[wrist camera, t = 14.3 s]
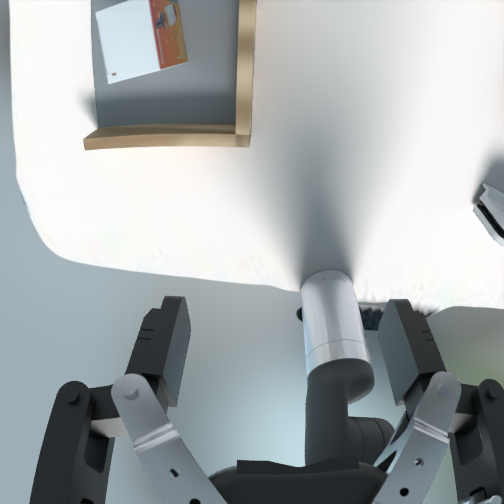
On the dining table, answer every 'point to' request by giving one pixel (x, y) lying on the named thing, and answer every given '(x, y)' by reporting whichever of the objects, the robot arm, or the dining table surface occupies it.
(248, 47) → the corner walls
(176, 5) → the small box
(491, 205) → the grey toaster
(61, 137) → the dining table surface
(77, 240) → the dining table surface
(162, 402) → the robot arm
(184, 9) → the mat
